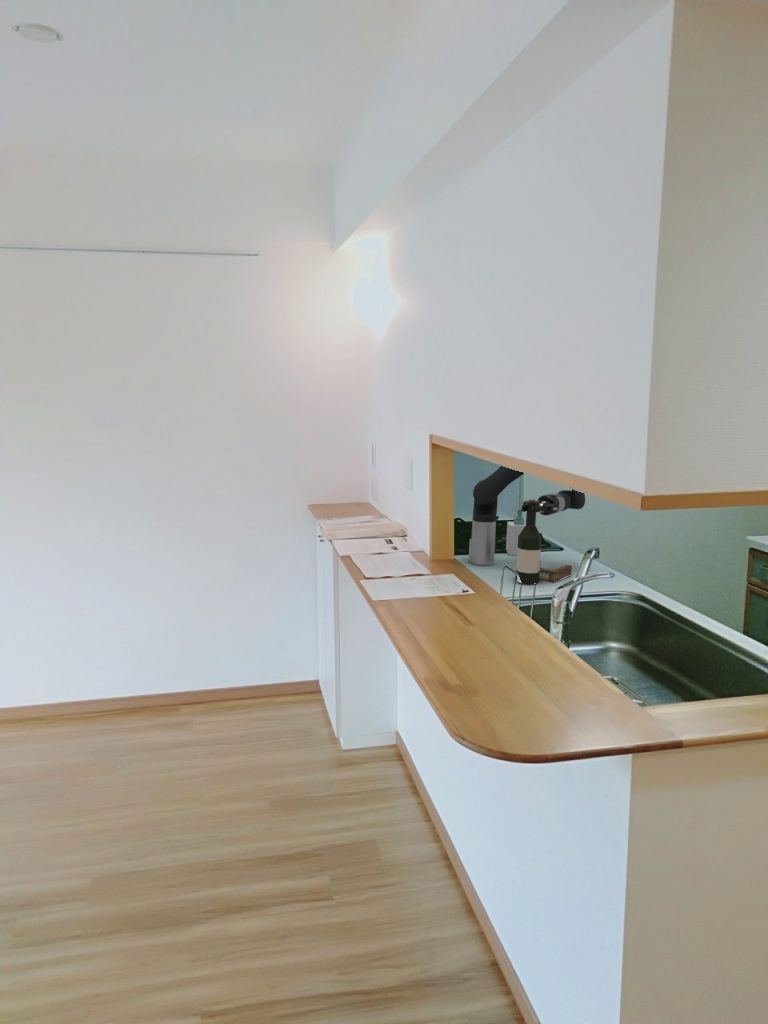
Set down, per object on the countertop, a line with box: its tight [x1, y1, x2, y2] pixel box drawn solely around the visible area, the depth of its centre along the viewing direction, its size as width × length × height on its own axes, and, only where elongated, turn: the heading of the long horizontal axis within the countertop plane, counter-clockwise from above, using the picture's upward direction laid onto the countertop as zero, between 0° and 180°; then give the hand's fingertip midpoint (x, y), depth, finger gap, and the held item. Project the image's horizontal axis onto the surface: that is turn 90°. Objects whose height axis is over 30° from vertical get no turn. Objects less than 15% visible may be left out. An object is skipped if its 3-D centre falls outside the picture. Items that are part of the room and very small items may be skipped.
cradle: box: [539, 559, 573, 584], centre depth 296 cm, size 15×14×4 cm
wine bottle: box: [515, 499, 543, 586], centre depth 285 cm, size 8×8×30 cm
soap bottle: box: [505, 508, 526, 556], centre depth 332 cm, size 9×9×19 cm
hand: (527, 509), depth 281 cm, fingers closed on wine bottle, 3 cm apart
